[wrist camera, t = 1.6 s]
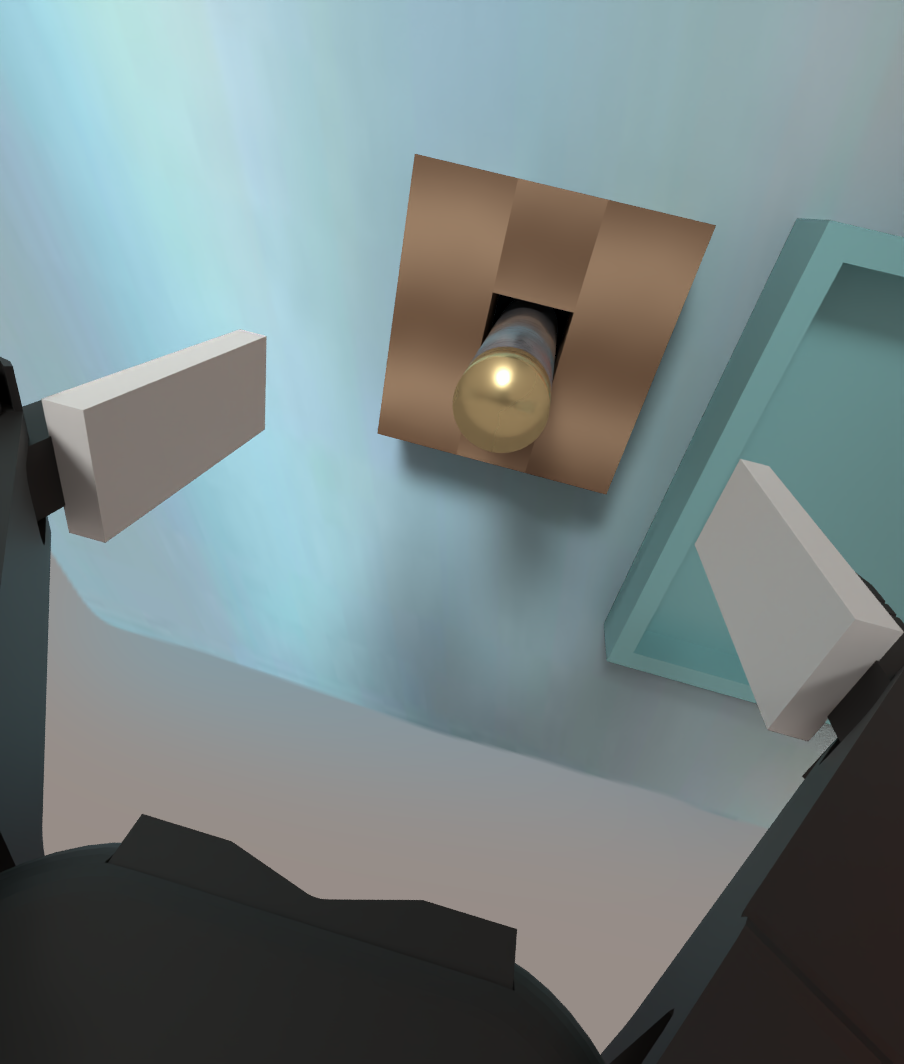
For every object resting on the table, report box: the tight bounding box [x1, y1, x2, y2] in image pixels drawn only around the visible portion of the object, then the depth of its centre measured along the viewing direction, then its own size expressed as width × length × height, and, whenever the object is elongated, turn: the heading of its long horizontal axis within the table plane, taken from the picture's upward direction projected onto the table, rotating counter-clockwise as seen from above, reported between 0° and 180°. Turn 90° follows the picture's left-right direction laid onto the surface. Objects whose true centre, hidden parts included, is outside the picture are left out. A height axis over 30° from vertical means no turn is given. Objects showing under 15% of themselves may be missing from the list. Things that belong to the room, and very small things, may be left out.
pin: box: [453, 299, 558, 453], centre depth 22 cm, size 3×3×13 cm
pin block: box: [378, 154, 716, 494], centre depth 26 cm, size 12×12×4 cm
